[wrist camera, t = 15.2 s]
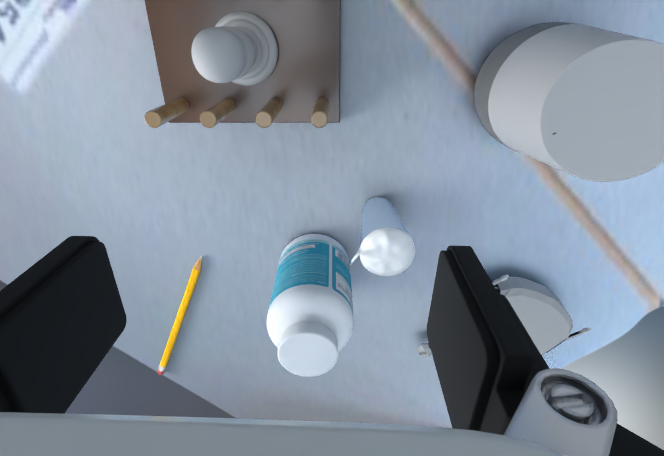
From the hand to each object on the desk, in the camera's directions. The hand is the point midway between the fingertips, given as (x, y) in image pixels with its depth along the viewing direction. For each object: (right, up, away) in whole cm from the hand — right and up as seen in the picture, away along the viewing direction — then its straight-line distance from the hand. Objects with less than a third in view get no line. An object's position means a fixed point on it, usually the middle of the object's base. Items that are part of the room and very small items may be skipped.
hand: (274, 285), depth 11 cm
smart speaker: (+18, +14, +22) cm, 32 cm away
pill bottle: (0, -2, +31) cm, 31 cm away
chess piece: (-5, +16, +20) cm, 26 cm away
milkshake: (+6, +3, +28) cm, 29 cm away
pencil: (-16, -9, +35) cm, 40 cm away
